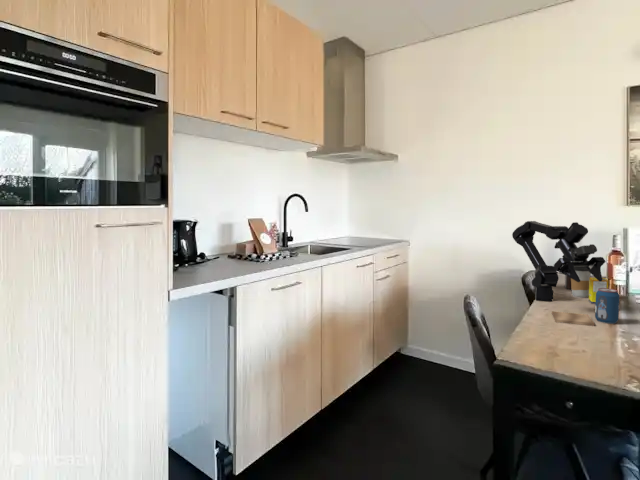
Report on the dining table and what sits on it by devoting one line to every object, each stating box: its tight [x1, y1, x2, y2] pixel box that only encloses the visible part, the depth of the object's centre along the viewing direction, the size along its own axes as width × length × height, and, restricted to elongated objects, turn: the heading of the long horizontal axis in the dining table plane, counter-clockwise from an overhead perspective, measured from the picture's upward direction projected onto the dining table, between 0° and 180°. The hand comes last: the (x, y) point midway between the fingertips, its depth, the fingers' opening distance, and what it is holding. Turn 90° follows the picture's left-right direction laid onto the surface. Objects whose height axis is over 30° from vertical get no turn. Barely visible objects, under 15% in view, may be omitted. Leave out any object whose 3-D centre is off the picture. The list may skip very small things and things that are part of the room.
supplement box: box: [588, 276, 609, 305], centre depth 166 cm, size 6×6×11 cm
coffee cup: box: [571, 266, 592, 299], centre depth 178 cm, size 8×8×15 cm
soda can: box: [594, 287, 620, 325], centre depth 139 cm, size 7×7×12 cm
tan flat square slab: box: [551, 311, 595, 327], centre depth 142 cm, size 12×12×1 cm
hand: (590, 281), depth 146 cm, fingers open, 9 cm apart
